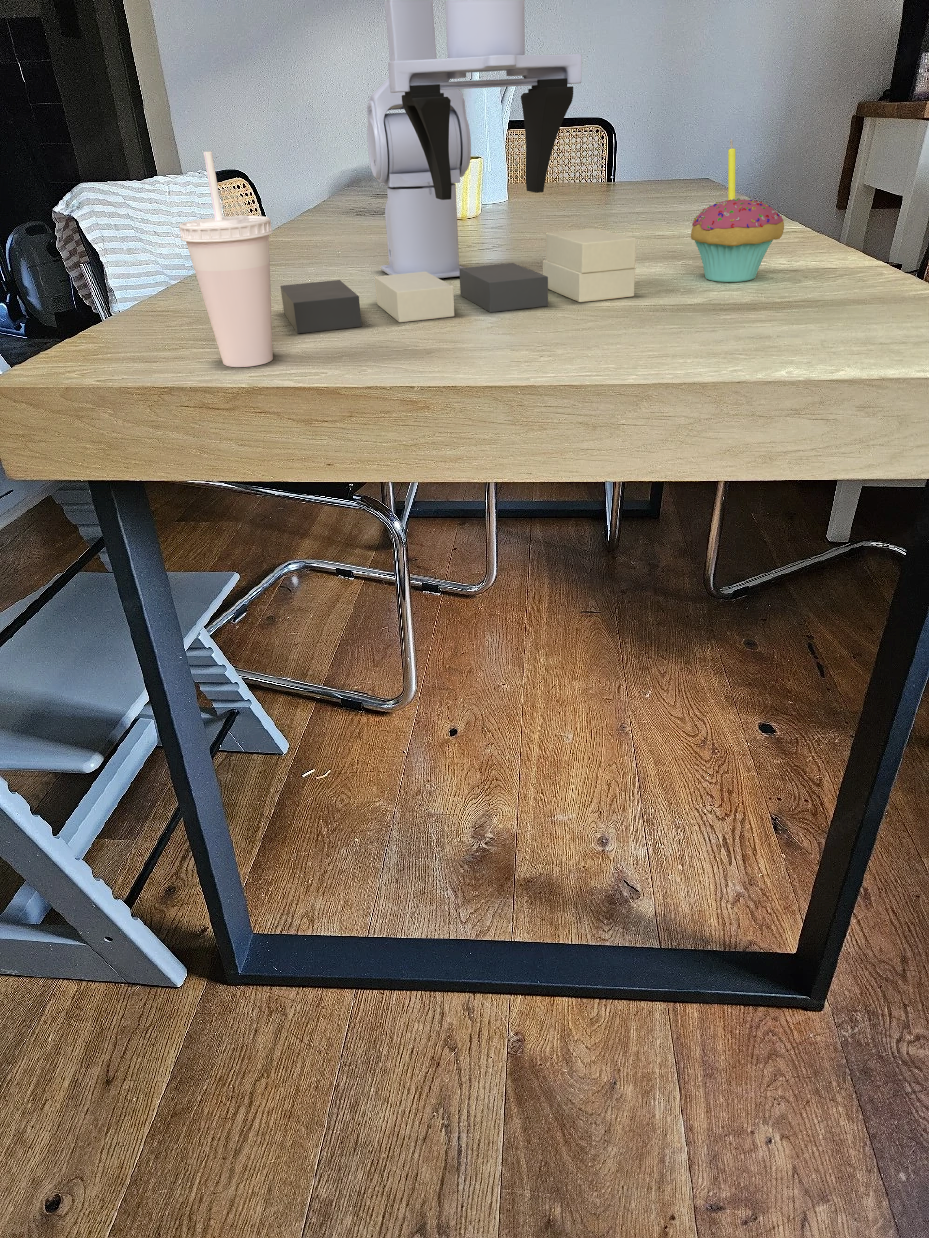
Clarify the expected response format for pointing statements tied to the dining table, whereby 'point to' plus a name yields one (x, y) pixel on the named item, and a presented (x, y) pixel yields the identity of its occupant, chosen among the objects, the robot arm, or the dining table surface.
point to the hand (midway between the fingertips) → (489, 195)
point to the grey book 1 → (321, 306)
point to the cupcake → (735, 233)
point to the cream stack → (590, 264)
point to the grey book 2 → (503, 287)
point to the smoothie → (233, 278)
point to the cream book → (414, 296)
